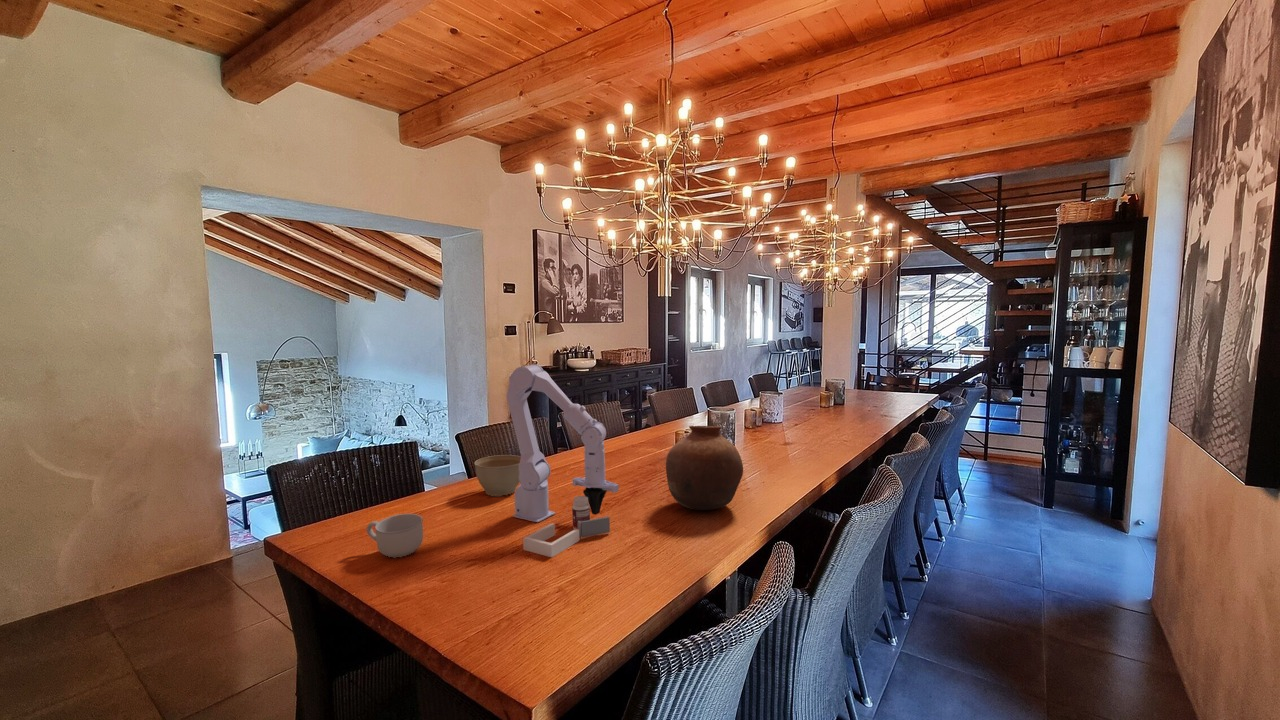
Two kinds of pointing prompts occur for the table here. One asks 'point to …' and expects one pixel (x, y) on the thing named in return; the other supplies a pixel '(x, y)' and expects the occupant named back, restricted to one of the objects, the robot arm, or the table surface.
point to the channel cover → (594, 527)
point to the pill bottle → (580, 510)
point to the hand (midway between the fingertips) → (595, 513)
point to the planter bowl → (498, 474)
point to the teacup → (397, 534)
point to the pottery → (703, 469)
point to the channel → (539, 546)
